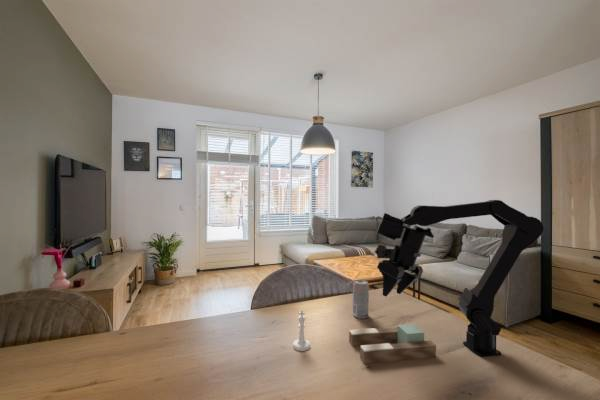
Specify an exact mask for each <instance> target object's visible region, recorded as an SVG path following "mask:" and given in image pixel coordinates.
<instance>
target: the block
mask: <svg viewBox="0 0 600 400" xmlns="http://www.w3.org/2000/svg"><path fill="white" fill-rule="evenodd" d="M397 327H398V328H397ZM397 327H396V328H397V342H396V344H397V343H408V342H420V341H425V332H424V331H423V330H422V329H421V328H419V327H418V326H417V325H416V324H414V323H409V324H397Z"/></svg>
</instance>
